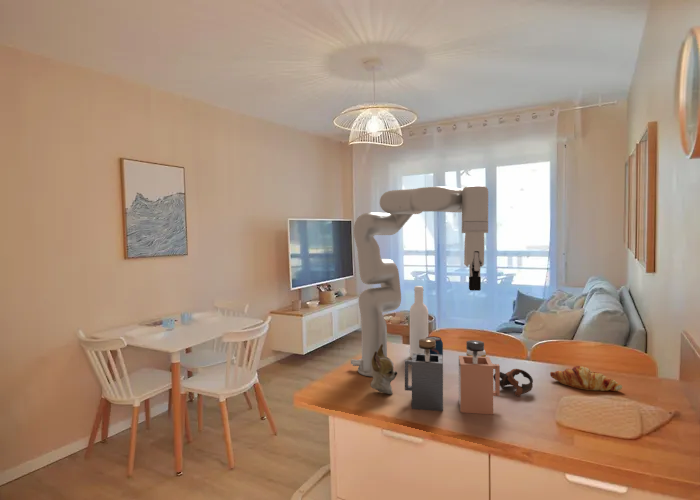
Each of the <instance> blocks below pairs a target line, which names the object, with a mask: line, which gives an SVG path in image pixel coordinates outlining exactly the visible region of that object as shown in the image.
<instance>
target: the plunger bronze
mask: <svg viewBox="0 0 700 500" xmlns="http://www.w3.org/2000/svg"><path fill="white" fill-rule="evenodd" d="M419 348H421V349H425V361H427V362H430V349H435V348H436V341H435V340H433V339H420V340H419Z"/></svg>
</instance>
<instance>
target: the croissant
mask: <svg viewBox="0 0 700 500" xmlns="http://www.w3.org/2000/svg"><path fill="white" fill-rule="evenodd" d="M549 374H550V375H549V376H550V377H551V378H552V379H554V380H555V381H558V382H559V383H560V384H562V385H564V386H569V387H571V388H575V389H581V390H585V391H601V392H602V391H603V392H604V391H611V392H617V391H618V392H619V391H621V390H622V389H623V385H622V384H620V383H618V382H617V381H616V380H615V379H613V378H609V377H607V376H606V375H604V374H603V373H602V372H598V371H592V370H591V369H589V368H588V367H584V366H581V365H574V366H573V368H566V369H564V370H556V371H550V373H549Z"/></svg>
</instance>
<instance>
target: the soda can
mask: <svg viewBox="0 0 700 500" xmlns="http://www.w3.org/2000/svg"><path fill="white" fill-rule="evenodd" d="M426 339H433V340H435V341H436V348H435V349H430V354H435V355H442V359H443V360H444V343H443V340H442V338H441V337H440V336H434V335H431V336H430V335H428V337H426Z"/></svg>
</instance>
